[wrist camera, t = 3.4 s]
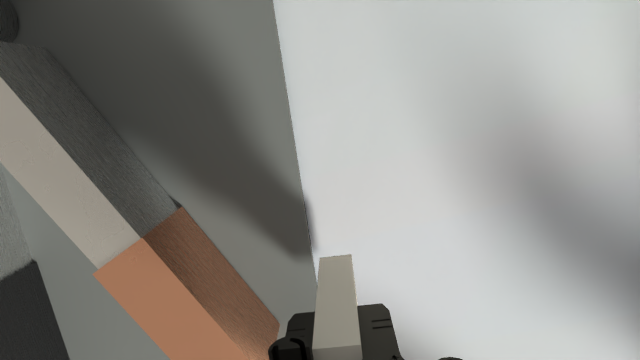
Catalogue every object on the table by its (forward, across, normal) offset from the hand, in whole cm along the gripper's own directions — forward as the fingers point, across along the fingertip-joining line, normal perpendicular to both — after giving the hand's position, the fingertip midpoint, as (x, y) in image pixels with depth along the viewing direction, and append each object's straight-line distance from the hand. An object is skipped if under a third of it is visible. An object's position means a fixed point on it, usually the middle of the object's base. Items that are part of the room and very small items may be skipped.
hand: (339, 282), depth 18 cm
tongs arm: (+2, -10, +6) cm, 12 cm away
